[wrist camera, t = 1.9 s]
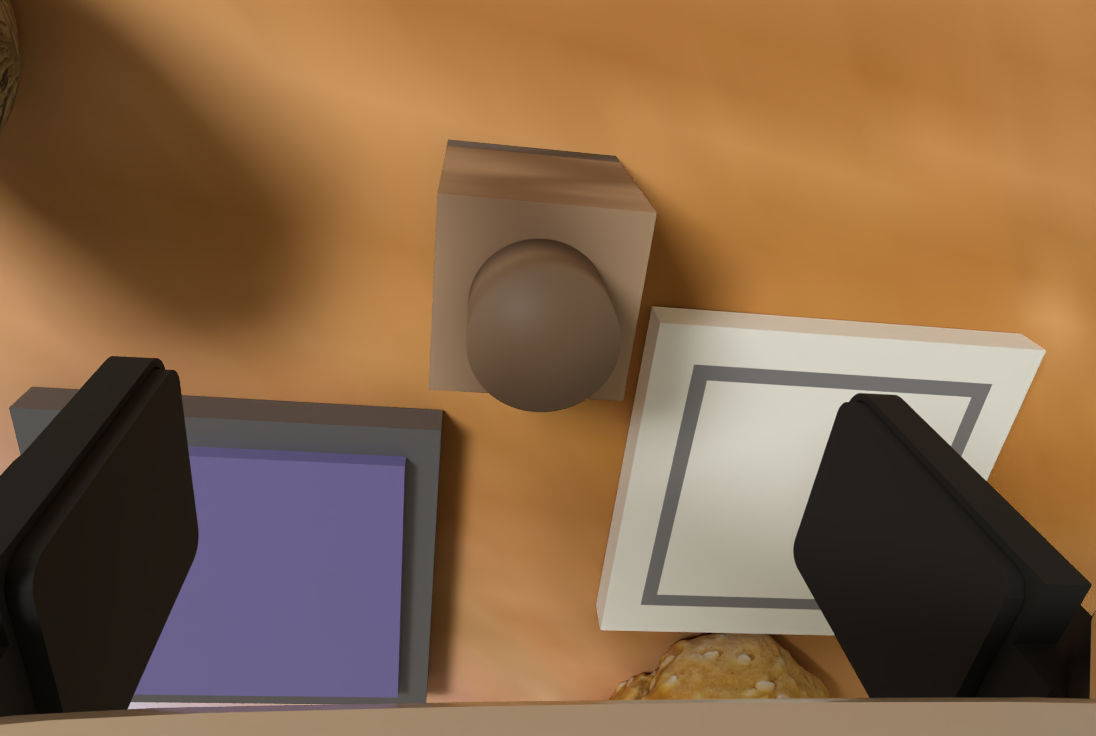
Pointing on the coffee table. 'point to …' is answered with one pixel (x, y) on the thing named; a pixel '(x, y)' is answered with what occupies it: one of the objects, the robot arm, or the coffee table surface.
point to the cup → (8, 60)
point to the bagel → (724, 672)
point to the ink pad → (296, 552)
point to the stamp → (536, 275)
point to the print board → (771, 453)
